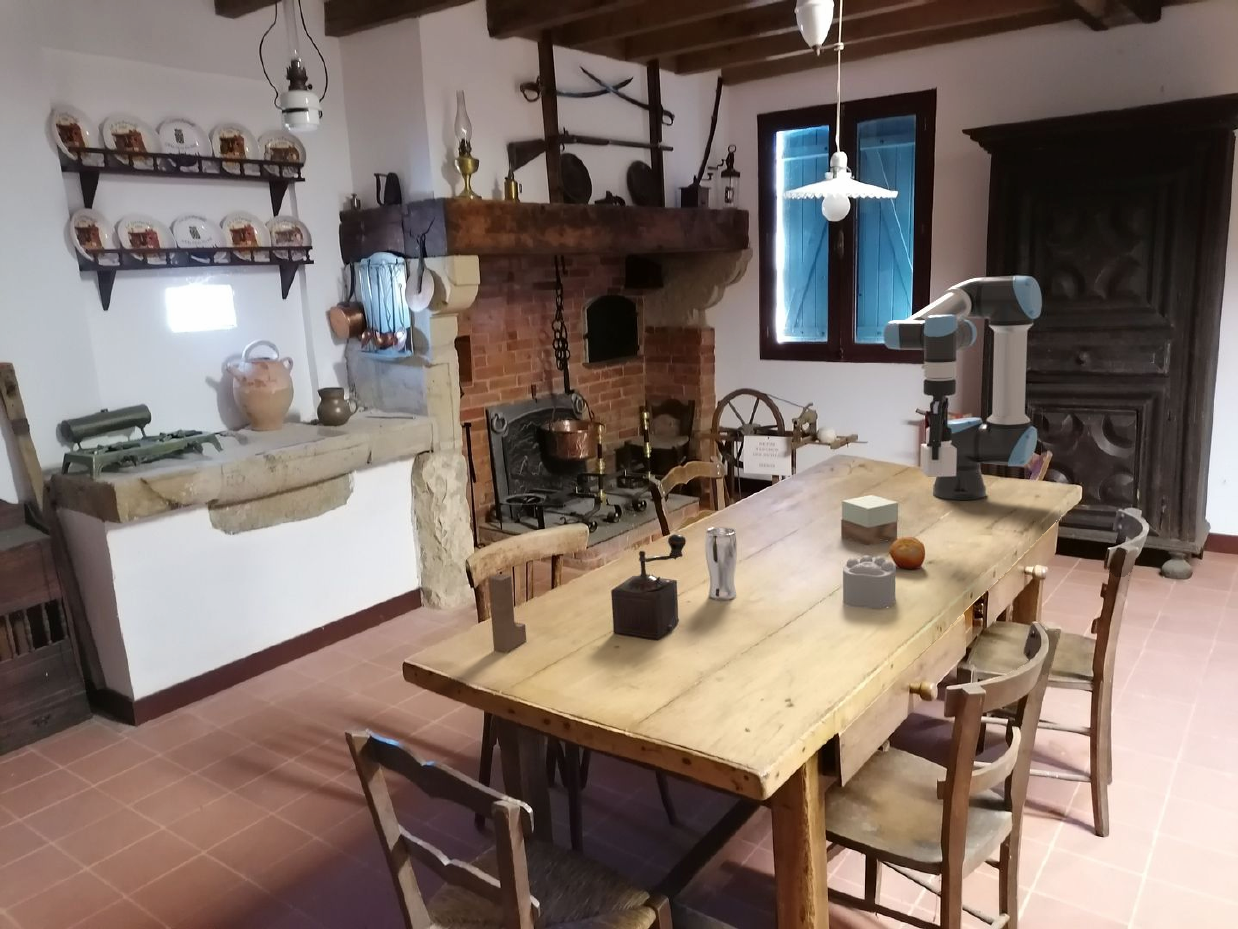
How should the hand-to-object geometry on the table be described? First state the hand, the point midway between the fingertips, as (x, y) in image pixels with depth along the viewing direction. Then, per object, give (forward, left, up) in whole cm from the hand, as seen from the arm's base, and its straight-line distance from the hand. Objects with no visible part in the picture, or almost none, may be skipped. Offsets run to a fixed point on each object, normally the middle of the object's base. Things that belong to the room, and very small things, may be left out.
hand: (938, 468), depth 230 cm
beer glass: (+66, -1, -20) cm, 69 cm away
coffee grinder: (+87, +4, -20) cm, 89 cm away
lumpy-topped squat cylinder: (+41, +19, -20) cm, 50 cm away
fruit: (+20, +9, -20) cm, 30 cm away
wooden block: (+116, -3, -20) cm, 118 cm away
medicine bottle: (0, 0, -2) cm, 2 cm away
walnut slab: (+10, -13, -20) cm, 26 cm away
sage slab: (+10, -13, -15) cm, 22 cm away
